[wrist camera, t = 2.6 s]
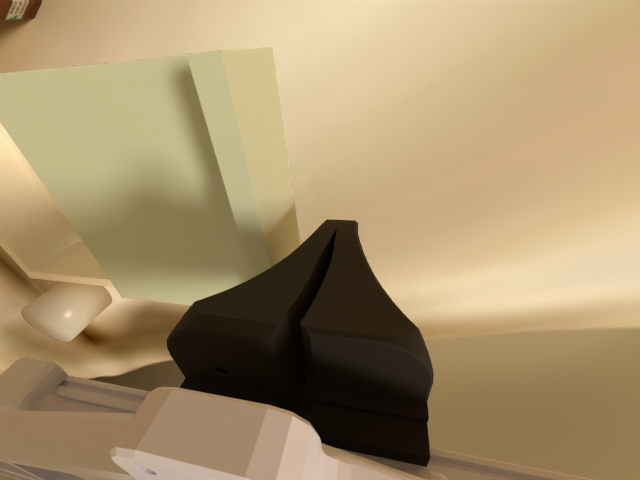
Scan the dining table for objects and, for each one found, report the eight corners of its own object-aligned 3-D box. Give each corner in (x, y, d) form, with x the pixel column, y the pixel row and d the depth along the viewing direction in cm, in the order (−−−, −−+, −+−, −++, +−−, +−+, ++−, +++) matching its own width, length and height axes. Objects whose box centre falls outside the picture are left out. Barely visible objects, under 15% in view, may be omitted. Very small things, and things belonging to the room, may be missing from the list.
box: (211, 252, 24) (176, 294, 20) (83, 243, 27) (30, 278, 23) (139, 61, 16) (57, 68, 12) (-33, 77, 19) (-145, 87, 15)
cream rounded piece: (119, 307, 33) (82, 344, 29) (84, 303, 34) (43, 338, 30) (96, 275, 30) (51, 310, 26) (58, 271, 31) (9, 305, 27)
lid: (309, 309, 18) (293, 363, 15) (130, 289, 21) (86, 331, 18) (271, 47, 10) (220, 50, 7) (-12, 74, 13) (-134, 85, 10)
